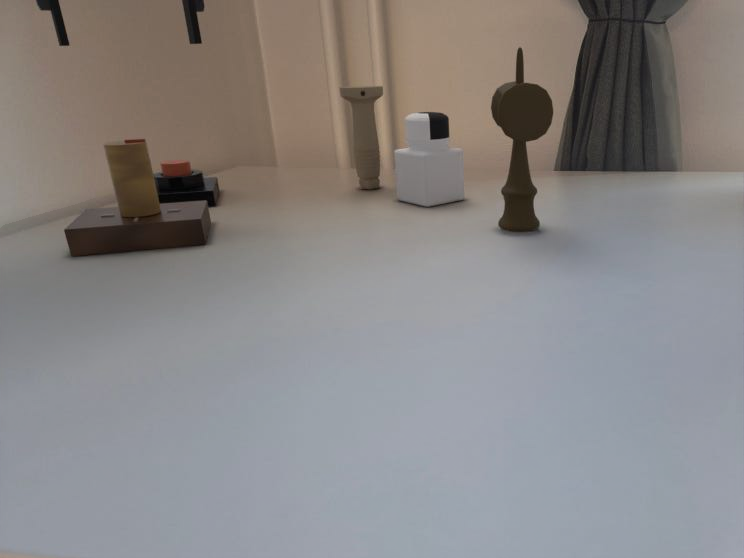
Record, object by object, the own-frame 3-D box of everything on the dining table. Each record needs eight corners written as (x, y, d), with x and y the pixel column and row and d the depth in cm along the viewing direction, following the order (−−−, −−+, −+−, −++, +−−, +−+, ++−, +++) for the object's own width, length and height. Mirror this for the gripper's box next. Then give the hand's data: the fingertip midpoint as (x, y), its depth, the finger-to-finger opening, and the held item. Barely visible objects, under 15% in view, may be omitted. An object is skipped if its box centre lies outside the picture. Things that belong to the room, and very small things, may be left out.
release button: (161, 179, 98) (158, 164, 97) (164, 174, 101) (161, 160, 100) (191, 177, 99) (188, 162, 98) (193, 173, 102) (190, 159, 101)
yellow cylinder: (117, 218, 77) (98, 143, 74) (123, 210, 81) (106, 138, 78) (158, 215, 78) (142, 140, 75) (163, 207, 82) (148, 136, 79)
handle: (348, 186, 109) (338, 86, 103) (388, 184, 111) (380, 85, 104) (350, 192, 105) (340, 88, 99) (391, 189, 106) (384, 86, 100)
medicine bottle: (434, 193, 103) (430, 109, 98) (465, 199, 98) (463, 112, 93) (396, 200, 99) (390, 113, 94) (427, 207, 94) (422, 116, 89)
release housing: (140, 211, 95) (134, 182, 93) (152, 195, 106) (146, 169, 104) (215, 205, 98) (210, 177, 96) (219, 190, 108) (215, 165, 106)
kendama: (499, 241, 77) (498, 47, 69) (489, 221, 86) (487, 47, 77) (551, 238, 77) (556, 46, 69) (536, 219, 86) (539, 46, 78)
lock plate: (71, 256, 74) (63, 228, 73) (92, 233, 84) (85, 207, 83) (205, 244, 78) (200, 217, 77) (211, 223, 88) (206, 198, 86)
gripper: (-75, -226, 58) (3, 46, 67) (221, -182, 71) (253, 42, 80) (-70, -201, 64) (1, 47, 73) (203, -164, 76) (235, 43, 85)
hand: (133, 45), depth 76 cm, fingers open, 13 cm apart
